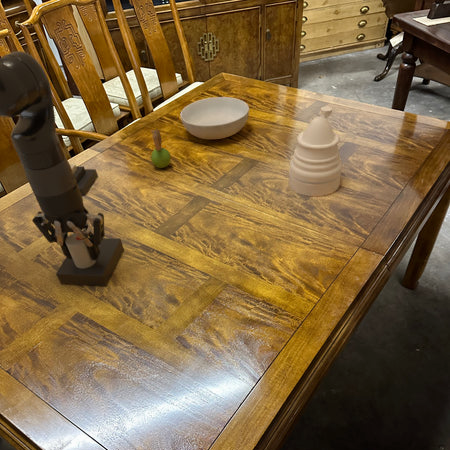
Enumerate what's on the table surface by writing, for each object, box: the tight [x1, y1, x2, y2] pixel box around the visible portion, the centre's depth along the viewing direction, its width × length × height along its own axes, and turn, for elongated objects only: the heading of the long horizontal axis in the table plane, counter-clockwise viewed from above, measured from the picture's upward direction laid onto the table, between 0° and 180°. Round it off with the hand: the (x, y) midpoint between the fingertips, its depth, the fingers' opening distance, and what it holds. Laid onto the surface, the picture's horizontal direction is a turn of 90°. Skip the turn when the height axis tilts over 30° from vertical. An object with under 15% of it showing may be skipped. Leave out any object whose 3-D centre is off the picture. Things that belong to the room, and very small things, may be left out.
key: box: [70, 164, 77, 174], centre depth 111 cm, size 4×4×2 cm
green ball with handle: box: [150, 129, 172, 169], centre depth 114 cm, size 5×6×12 cm
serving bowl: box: [179, 96, 250, 140], centre depth 129 cm, size 21×21×7 cm
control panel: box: [55, 237, 125, 287], centre depth 89 cm, size 10×12×3 cm
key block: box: [74, 166, 99, 197], centre depth 113 cm, size 11×10×4 cm
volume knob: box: [65, 233, 96, 269], centre depth 85 cm, size 4×4×6 cm
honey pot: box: [288, 106, 343, 197], centre depth 101 cm, size 13×13×18 cm
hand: (83, 256), depth 86 cm, fingers open, 4 cm apart
